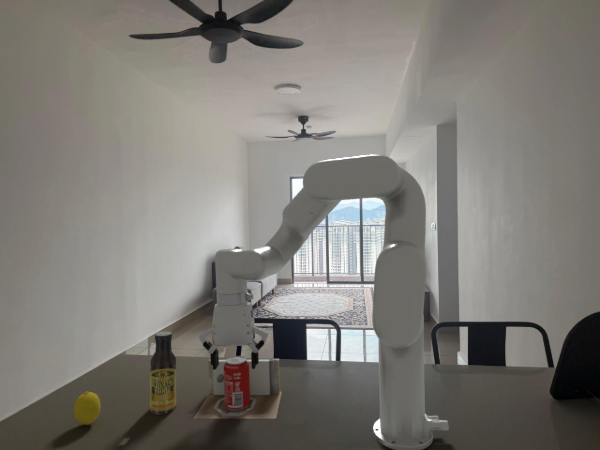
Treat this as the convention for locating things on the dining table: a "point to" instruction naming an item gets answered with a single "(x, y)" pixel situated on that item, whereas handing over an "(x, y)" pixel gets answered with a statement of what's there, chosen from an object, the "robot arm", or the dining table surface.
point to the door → (258, 378)
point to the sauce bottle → (163, 375)
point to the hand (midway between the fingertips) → (235, 367)
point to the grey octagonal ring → (234, 414)
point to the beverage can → (236, 383)
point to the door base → (263, 408)
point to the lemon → (87, 408)
